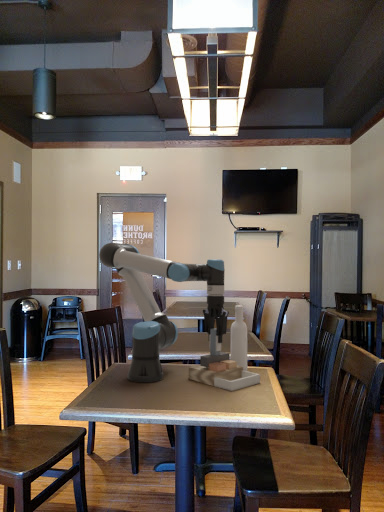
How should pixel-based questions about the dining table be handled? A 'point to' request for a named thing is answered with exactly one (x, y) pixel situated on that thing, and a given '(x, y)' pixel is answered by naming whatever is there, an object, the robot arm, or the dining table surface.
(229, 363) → the tile
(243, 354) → the bottle
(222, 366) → the tile
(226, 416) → the dining table surface
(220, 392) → the dining table surface
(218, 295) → the robot arm
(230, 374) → the striped wooden block
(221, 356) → the grey post
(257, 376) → the box
